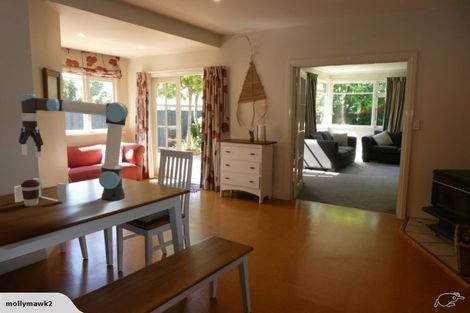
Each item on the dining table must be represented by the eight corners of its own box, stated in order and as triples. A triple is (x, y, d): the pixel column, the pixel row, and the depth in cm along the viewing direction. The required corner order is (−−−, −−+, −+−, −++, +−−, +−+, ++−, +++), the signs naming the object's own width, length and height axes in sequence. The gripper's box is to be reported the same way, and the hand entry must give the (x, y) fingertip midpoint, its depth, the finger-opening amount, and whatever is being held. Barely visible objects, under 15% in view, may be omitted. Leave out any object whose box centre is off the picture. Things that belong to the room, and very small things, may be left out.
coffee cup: (18, 205, 199) (16, 181, 196) (32, 201, 208) (31, 178, 206) (29, 207, 195) (28, 183, 193) (44, 203, 205) (43, 180, 202)
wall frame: (37, 195, 222) (36, 177, 221) (66, 202, 209) (65, 183, 207) (33, 195, 220) (32, 178, 218) (63, 203, 207) (62, 184, 205)
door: (40, 195, 220) (39, 180, 219) (43, 196, 219) (42, 181, 217) (13, 201, 205) (12, 185, 203) (16, 202, 203) (15, 186, 202)
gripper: (10, 119, 195) (12, 154, 198) (36, 121, 184) (38, 158, 187) (23, 119, 202) (25, 153, 205) (49, 121, 191) (50, 157, 194)
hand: (31, 155), depth 196 cm, fingers open, 13 cm apart
